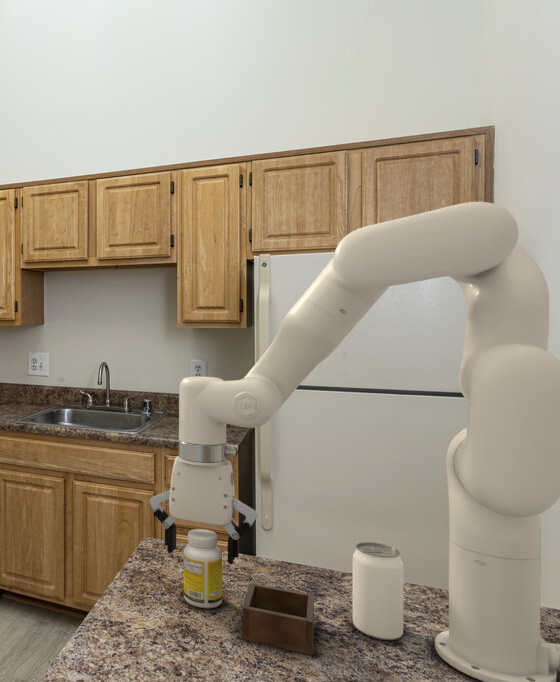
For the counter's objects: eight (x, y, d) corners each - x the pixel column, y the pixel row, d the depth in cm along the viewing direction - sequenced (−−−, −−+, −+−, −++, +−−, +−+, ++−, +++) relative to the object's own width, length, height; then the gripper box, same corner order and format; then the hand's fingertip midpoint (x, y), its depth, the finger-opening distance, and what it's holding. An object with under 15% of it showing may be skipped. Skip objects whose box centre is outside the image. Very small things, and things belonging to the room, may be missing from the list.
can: (411, 643, 79) (411, 559, 79) (361, 639, 80) (361, 555, 80) (392, 620, 85) (392, 542, 85) (346, 616, 87) (346, 539, 87)
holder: (313, 624, 84) (313, 594, 84) (312, 655, 76) (312, 621, 76) (250, 611, 88) (250, 582, 88) (242, 639, 80) (242, 607, 80)
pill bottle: (218, 592, 95) (218, 527, 95) (226, 610, 89) (226, 541, 89) (181, 591, 96) (180, 526, 95) (186, 608, 89) (186, 539, 89)
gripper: (260, 453, 91) (259, 557, 92) (156, 443, 99) (155, 539, 99) (255, 462, 85) (253, 574, 85) (144, 451, 92) (143, 554, 93)
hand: (200, 555), depth 92 cm, fingers open, 9 cm apart
